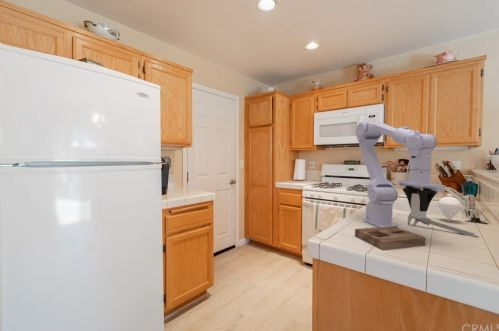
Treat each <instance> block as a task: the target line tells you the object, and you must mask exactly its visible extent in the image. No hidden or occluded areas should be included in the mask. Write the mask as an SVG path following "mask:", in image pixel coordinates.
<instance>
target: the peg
mask: <svg viewBox="0 0 499 331" xmlns="http://www.w3.org/2000/svg"><path fill="white" fill-rule="evenodd" d="M410 213H411V216H412V217H415V218H419V219H420V218H426V217H427V211H420V198H419V194H418V193H411V209H410Z"/></svg>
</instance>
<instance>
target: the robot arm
mask: <svg viewBox="0 0 499 331" xmlns="http://www.w3.org/2000/svg"><path fill="white" fill-rule="evenodd" d="M354 133H355V135H356V139H357V141H358V145H359V149H360V153H361V155H362V157H363V162H364V165H365V168H366V170H367V174H368V177H369V180H370V182H369V183H368V184H367V185H366V189H367V197H368V200H369V201H368V202H367V203H366V205H365V219H363V221H364V222H365V223H368V224H371V225H373V226H376V227H385V226H394V227H398V224H396V223H393V205H394V204H395V202H396V201H397V200H398V196H399V192H398V190H397V189H396V187H395V186H394V185H393V182H392V181H390V180H389V179H387V178H386V177H385V173H384V171H383V169H382V165H381V163H380V160H379V157H378V154H377V152H376V148H375V145H376V144H377V143H378V142H379V140H380V139H381V137H382V136H383V135H385V136H388V137H391V138H392V141H393V142H395V143H396V144H397V143H398V144H400V145H402V146H404V147H406V149H407V151H408V155H409V169H408V170H409V172H408V180H397V186H398V187H403V188H402V191H403V193H404V195H405V196H406V198H407V202H408V204H409V205H408V206H409V209H410V210H411V193H418V194H419V198H420V211H426V212H427V211H428V209H429V207H430V204H431V203H432V200H433V199H434V198H435V196H436V195H437V193H443V192H446V185H443V184H437V183H431V177H432V176H431V174H432V151H433V150H434V149H435V148H436V147H437V143H438V140H437V137H436V136H434V135H433V134H432V133H421V131H420V130H413V129H410V127H409V126H402V127H399V128H396V127H393V126H391V125H389V124H386V123H384V122H364V121H361V122H359V123H358V124H357V125H356V129H355V131H354Z"/></svg>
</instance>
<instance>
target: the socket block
mask: <svg viewBox="0 0 499 331" xmlns="http://www.w3.org/2000/svg"><path fill="white" fill-rule="evenodd" d="M354 237H356V238H359V239H360V240H362V241H364V242H366V243H368V244H370V245H372V246H374V247H376V248H378V249H380V250H382V251H388V250H395V249H396V250H397V249H404V248H405V249H407V248H412V247H416V248H417V247H423V246H426V240H427V239H426V238H427V237H425V236H422V235H419V234H417V233H413V232H412V231H408V230H405V229H403V228H400V227H398V226H395V227H394V226H385V227H378V226H376V227H375V226H374V227H363V228H354Z"/></svg>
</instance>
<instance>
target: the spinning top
mask: <svg viewBox="0 0 499 331" xmlns="http://www.w3.org/2000/svg"><path fill="white" fill-rule="evenodd" d="M437 208H438V209H439V210H440V212H441V213H442V215H443V216H444V217H445V218H446V219H447V221H448V223H449V222H450V220H452V219H453V218H455V216H457V214H459V213H460V211H461V210H462V208H463V206H462V202H461V201H460V200H459V199H458V198H456V197H454V194H453V193H447V194H446V196H445V197H444V196H443V197H441V198H440V199H439V200H438V202H437Z"/></svg>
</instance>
